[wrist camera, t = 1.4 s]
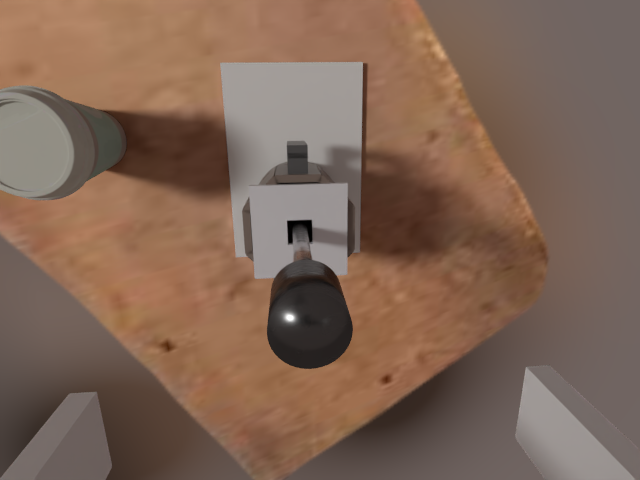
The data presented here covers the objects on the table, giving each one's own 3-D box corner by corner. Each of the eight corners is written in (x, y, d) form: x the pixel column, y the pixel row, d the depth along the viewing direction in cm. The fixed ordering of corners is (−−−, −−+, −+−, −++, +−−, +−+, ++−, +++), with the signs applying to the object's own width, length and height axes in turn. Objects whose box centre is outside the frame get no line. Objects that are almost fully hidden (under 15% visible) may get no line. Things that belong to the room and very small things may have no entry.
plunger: (276, 208, 32) (264, 294, 16) (321, 206, 32) (352, 290, 16) (278, 250, 33) (269, 371, 17) (321, 249, 33) (352, 366, 17)
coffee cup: (143, 103, 39) (83, 96, 28) (138, 187, 42) (81, 213, 30) (52, 86, 38) (-49, 71, 27) (52, 173, 41) (-41, 194, 29)
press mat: (221, 63, 39) (220, 62, 38) (362, 62, 40) (362, 62, 39) (236, 255, 45) (236, 257, 44) (359, 251, 46) (359, 252, 45)
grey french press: (251, 139, 41) (236, 147, 29) (337, 138, 41) (357, 144, 30) (257, 243, 44) (246, 286, 32) (338, 240, 44) (355, 282, 33)
